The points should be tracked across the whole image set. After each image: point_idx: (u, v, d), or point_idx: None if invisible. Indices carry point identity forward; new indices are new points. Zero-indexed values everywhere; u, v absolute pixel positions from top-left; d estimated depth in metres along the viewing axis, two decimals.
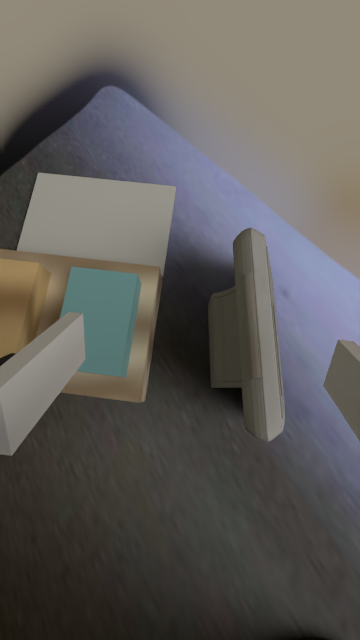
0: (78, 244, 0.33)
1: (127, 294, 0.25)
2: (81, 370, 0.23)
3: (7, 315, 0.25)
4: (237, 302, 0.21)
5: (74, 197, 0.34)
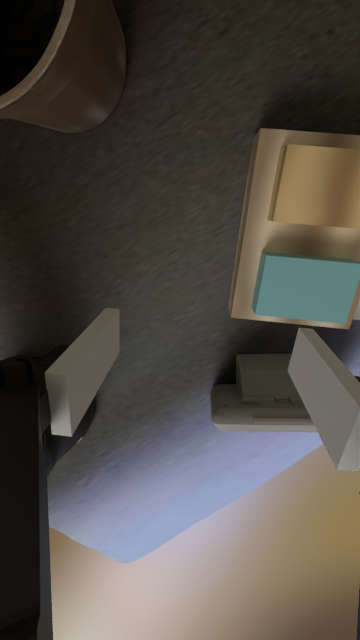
0: None
1: (326, 316, 0.28)
2: (261, 283, 0.28)
3: (322, 206, 0.25)
4: None
5: None
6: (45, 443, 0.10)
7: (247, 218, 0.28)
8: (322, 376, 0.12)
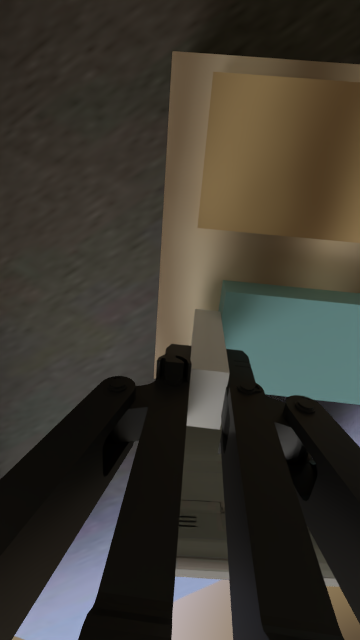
0: None
1: (332, 393, 0.17)
2: None
3: (287, 200, 0.13)
4: None
5: None
6: None
7: (164, 221, 0.16)
8: None
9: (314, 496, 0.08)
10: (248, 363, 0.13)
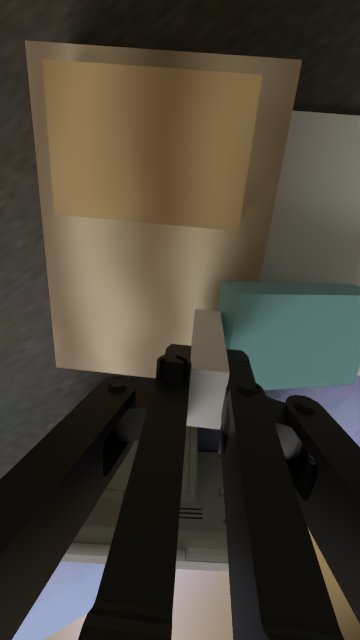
0: (303, 236, 0.19)
1: (328, 378, 0.18)
2: (232, 343, 0.15)
3: (134, 186, 0.13)
4: None
5: None
6: None
7: (43, 210, 0.16)
8: None
9: (314, 496, 0.08)
10: (248, 363, 0.13)
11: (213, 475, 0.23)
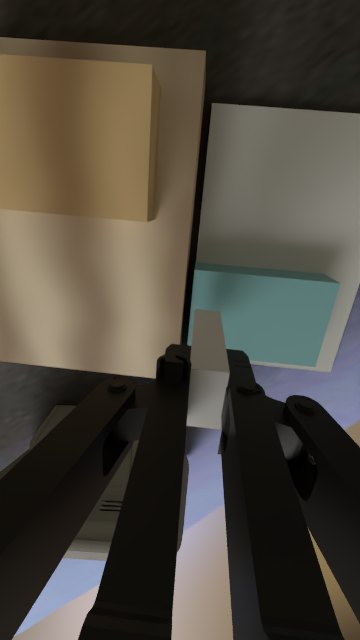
0: (238, 229, 0.19)
1: (287, 357, 0.20)
2: (191, 310, 0.19)
3: (40, 177, 0.13)
4: None
5: (336, 210, 0.18)
6: None
7: None
8: None
9: (314, 496, 0.08)
10: (248, 363, 0.13)
11: None
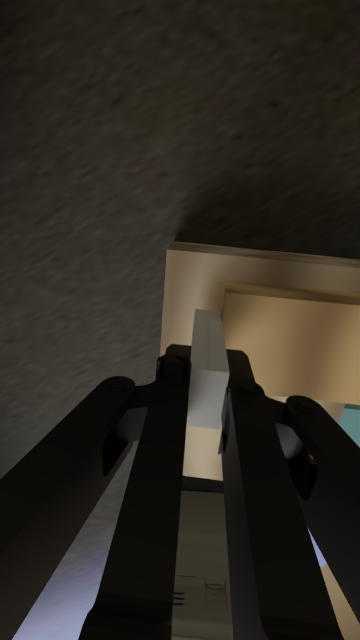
0: None
1: None
2: None
3: (284, 374, 0.16)
4: None
5: None
6: None
7: None
8: None
9: (314, 496, 0.08)
10: (248, 363, 0.13)
11: None
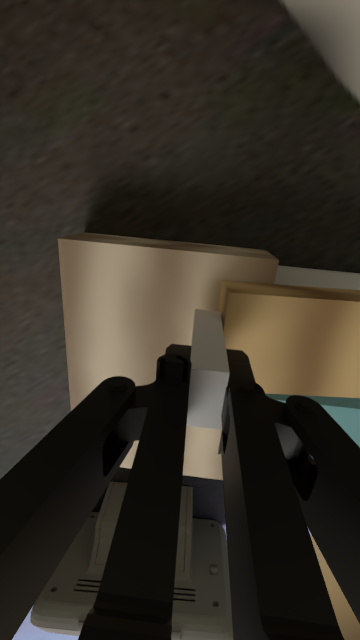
0: None
1: None
2: None
3: (286, 371, 0.16)
4: None
5: None
6: None
7: (67, 350, 0.20)
8: None
9: (314, 496, 0.08)
10: (248, 363, 0.13)
11: (206, 548, 0.27)
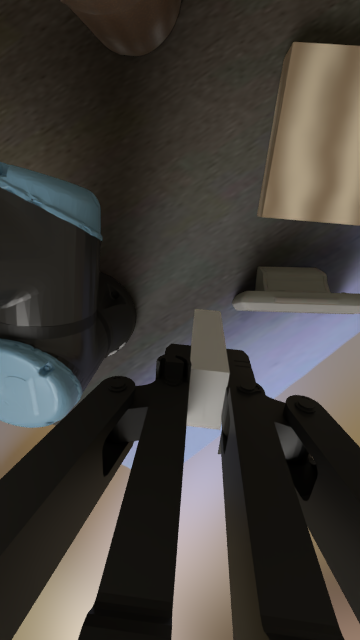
0: None
1: None
2: None
3: None
4: (320, 293, 0.36)
5: None
6: None
7: (279, 123, 0.34)
8: None
9: (314, 496, 0.08)
10: (248, 363, 0.13)
11: None
